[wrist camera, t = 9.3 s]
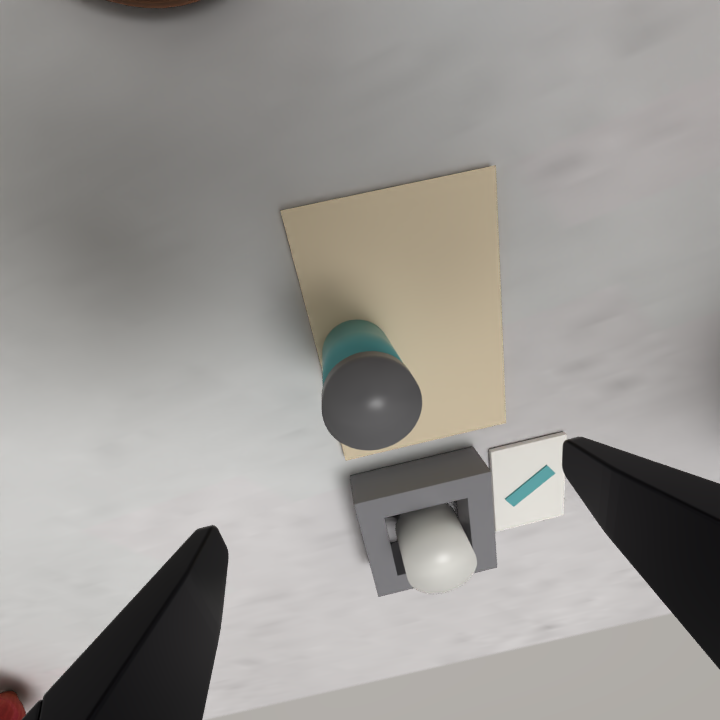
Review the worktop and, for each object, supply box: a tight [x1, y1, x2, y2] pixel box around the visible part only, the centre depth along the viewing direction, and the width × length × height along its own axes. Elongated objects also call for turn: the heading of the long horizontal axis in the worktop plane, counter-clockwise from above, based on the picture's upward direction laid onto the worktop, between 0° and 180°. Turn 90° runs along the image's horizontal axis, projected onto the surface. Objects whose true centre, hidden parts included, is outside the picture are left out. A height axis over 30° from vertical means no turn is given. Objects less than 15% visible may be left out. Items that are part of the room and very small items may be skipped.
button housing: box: [350, 447, 497, 597], centre depth 22 cm, size 8×8×2 cm
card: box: [489, 432, 567, 532], centre depth 23 cm, size 5×7×1 cm
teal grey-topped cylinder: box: [322, 320, 422, 450], centre depth 15 cm, size 4×4×6 cm
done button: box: [395, 503, 477, 594], centre depth 20 cm, size 4×4×3 cm
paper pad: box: [280, 165, 506, 461], centre depth 18 cm, size 10×14×1 cm
